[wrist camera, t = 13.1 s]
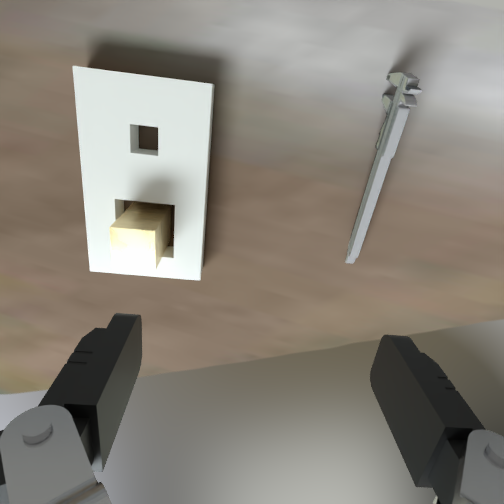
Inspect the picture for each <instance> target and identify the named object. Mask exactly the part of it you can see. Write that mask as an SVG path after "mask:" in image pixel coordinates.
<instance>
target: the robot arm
mask: <svg viewBox="0 0 504 504" xmlns="http://www.w3.org/2000/svg"><path fill="white" fill-rule="evenodd" d="M141 359H142V322H141V316H140V315H135V314H123V313H116V314H115V315H114V316H113V318H112V320H111V321H110V323H109V325H108V327H107V328H106V329H105V328H95V329H94V330H92V331H91V332H90V333H88V334H87V335H86V336H84V337H83V338H82V339H81V340H80V342H79V344H78V345H77V347H76V348H75V350H74V353H72V354H71V356H70V357H69V359H68V361H67V364H65V365H64V367H63V368H62V370H61V371H60V373H59V374H58V376H57V378H56V379H55V381H54V382H53V384H52V385H51V387H50V388H49V390H48V391H47V393H46V395H45V396H44V398H43V399H42V401H41V402H40V404H39V405H38V407H35V408H32V409H30V410H28V411H25V412H24V413H22V414H20V415H19V416H17V417H16V418H15V419H14V420H12V421H11V422H10V423H9V424H8V425H7V427H6V428H5V429H4V430H2V431H0V504H111V501H110V499H109V497H108V494H107V491H106V490H105V487H104V485H103V484H102V483H101V482H99V483H98V482H97V480H96V478H95V475H94V473H93V471H98V472H103V469H104V467H105V464H106V461H107V458H108V455H109V453H110V450H111V447H112V444H113V442H114V439H115V437H116V434H117V431H118V428H119V425H120V423H121V420H122V417H123V414H124V412H125V409H126V406H127V404H128V401H129V398H130V395H131V393H132V390H133V387H134V384H135V382H136V379H137V376H138V373H139V370H140V366H141ZM370 381H371V387H372V389H373V392H374V394H375V396H376V399H377V401H378V403H379V405H380V407H381V410H382V412H383V414H384V416H385V419H386V421H387V423H388V425H389V428H390V430H391V432H392V434H393V436H394V439H395V441H396V443H397V446H398V448H399V450H400V452H401V454H402V457H403V459H404V461H405V463H406V466H407V468H408V470H409V472H410V474H411V477H412V479H413V481H414V484H415V486H416V487H430V488H433V489H434V491H435V493H436V497H435V499H434V501H433V504H504V437H503V436H501V435H499V434H497V433H494V432H491V431H488V430H486V429H485V428H484V427H483V425H482V424H481V422H480V421H479V420H478V418H477V417H476V416H475V414H474V413H473V411H472V410H471V409H470V407H469V406H468V405H467V403H466V402H465V400H464V399H463V398H462V397H461V395H460V394H459V392H458V391H456V390H455V387H454V386H453V384H452V383H451V381H450V380H448V379H447V376H446V374H445V373H444V372H443V370H442V369H441V368H440V366H439V365H438V364H437V363H436V362H434V361H433V360H432V359H431V358H430V357H428V356H427V355H426V354H425V353H420V351H419V350H418V348H417V347H416V345H415V344H414V343H413V341H412V340H411V338H409V337H408V336H397V335H384V336H383V337H382V339H381V341H380V345H379V347H378V350H377V353H376V356H375V359H374V363H373V365H372V368H371V373H370Z"/></svg>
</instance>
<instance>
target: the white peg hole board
mask: <svg viewBox="0 0 504 504" xmlns="http://www.w3.org/2000/svg"><path fill="white" fill-rule="evenodd" d="M73 76H74V87H75V99H76V111H77V123H78V135H79V147H80V158H81V170H82V182H83V194H84V206H85V218H86V229H87V241H88V253H89V265H90V271H95V272H106V273H118V274H130V275H141V276H153V277H164V278H176V279H187V280H199V281H200V278H201V274H202V269H203V256H204V240H205V225H206V210H207V194H208V179H209V164H210V148H211V133H212V118H213V102H214V87H215V85H214V84H209V83H202V82H194V81H186V80H178V79H171V78H163V77H155V76H147V75H140V74H132V73H124V72H117V71H109V70H101V69H93V68H86V67H78V66H73ZM138 125H143V126H151V127H158V150H149V149H140V148H139V126H138ZM124 200H131V201H140V202H150V203H160V204H170V205H175V222H174V247H172V246H167V248H166V250H165V252H164V254H163V256H162V258H161V260H160V262H159V264H158V267H157V269H156V270H142V269H128V268H115V267H112V257H111V244H110V231H109V227H110V226H111V225H112V224H113V223H114V222H115V221H116V220H117V219H118V218H119V217H120V216H121V215H122V214H123V213H124Z"/></svg>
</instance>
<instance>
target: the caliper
mask: <svg viewBox="0 0 504 504" xmlns="http://www.w3.org/2000/svg"><path fill="white" fill-rule="evenodd" d="M386 80H388V81H389V82H390V83H392V84H393V85H394V86H395V87H396V88H397V90H396V93H395V96H393V95H388V94H383V96H382V102H383V105H384V108H385V111H386V113H387V117H386V120H385V122H384V124H383V126H382V128H381V131H380V134H379V139H378V141H377V143H376V149H377V150H378V151H377V154H376V157H375V160H374V164H373V167H372V170H371V173H370V177H369V180H368V183H367V186H366V190H365V193H364V196H363V199H362V203H361V206H360V209H359V212H358V215H357V219H356V222H355V225H354V228H353V232H352V235H351V238H350V242H349V246H348V251H347V256H346V260H345V263H354V262H355V259H356V258H358V256H359V253H360V250H361V247H362V244H363V241H364V238H365V235H366V232H367V229H368V226H369V223H370V220H371V217H372V214H373V211H374V208H375V205H376V202H377V199H378V196H379V193H380V190H381V187H382V184H383V181H384V178H385V175H386V172H387V169H388V166H389V163H390V160H391V157H392V158H393V157H394V154H395V152H396V149H397V146H398V143H399V140H400V137H401V134H402V131H403V128H404V126H405V123H406V120H407V117H408V114H409V111H410V108H408V107H409V106H414V107H417V103H416V98H415V97H414V96H413V94H414V95H417V94H419V93H421V92H422V90H421V89H420V88H418V87H417V86H418V83H419V80H420V79H418V78H417V77H416V76H414V75H413V74H411V73H403V72H398V73H390V74H388V76H387V79H386Z"/></svg>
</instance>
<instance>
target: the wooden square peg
mask: <svg viewBox="0 0 504 504" xmlns="http://www.w3.org/2000/svg"><path fill="white" fill-rule="evenodd" d="M109 231H110V244H111V257H112V267H115V268H128V269H142V270H156V269H157V267H158V264H159V262H160V260H161V258H162V256H163V254H164V252H165V250H166V248H167V246H168V244H169V241H170V239H171V205H167V204H156V203H144V202H133V203H132V204H131V206H130V207H129V208H128V209H127V210H126V211H125V212H124V213H123V214H122V215H121V216H120V217H119V218H118V219H117V220H116V221H115V222H114V223H113V224H112V225H111V226H110V227H109Z"/></svg>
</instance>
